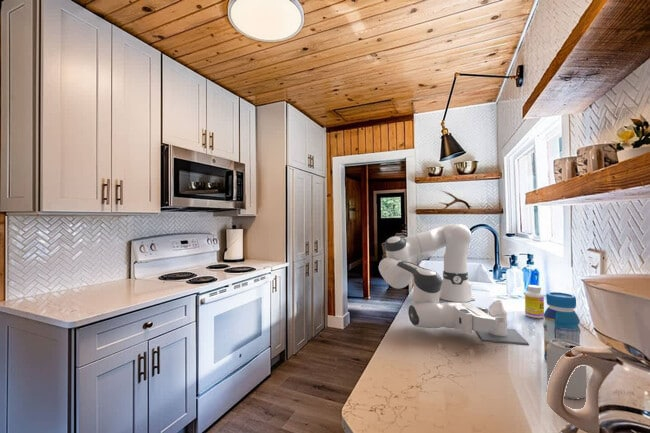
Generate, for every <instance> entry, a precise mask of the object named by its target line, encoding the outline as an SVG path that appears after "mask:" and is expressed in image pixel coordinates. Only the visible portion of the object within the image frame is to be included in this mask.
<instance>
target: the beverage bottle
mask: <svg viewBox="0 0 650 433" xmlns="http://www.w3.org/2000/svg"><path fill="white" fill-rule="evenodd" d="M545 297H546V298H545V299H546V304H547V306H548V307H547V308H546V309H545V310H544V317H543V318H544V321H543V324H542V325H543V326H542V327H543V341H544V342H543V343H544V344H543V346H544V347H543V348H544V350H543V352H544V355H543V356H544V357H543V358H544V361H545V362H546V363H547V345H548V344H549V343H550V340H551V339H566V340H570V341H573V342H576V343H578V344H580V343H581V340H580V338H581V337H580V336H581V328H580V326H579V324H580V317H579V315H578V314H577V313H576V311H575V309H576V307H577V297H576V296H575V295H574V294H571V293H566V292H557V291H556V292H555V291H551V292H549V291H548V292H547V293H546V296H545ZM580 345H581V344H580Z"/></svg>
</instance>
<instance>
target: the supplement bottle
mask: <svg viewBox="0 0 650 433" xmlns="http://www.w3.org/2000/svg"><path fill="white" fill-rule="evenodd" d="M541 290H542V287H541V286H540V285H535V284H528V285H527V290H526V291H525V293H524V301H525V302H524V307H525V308H524V312H525V313H524V314H525V316H527V317H529V318H532V319H542V318H544V313H545V295H544V293H543V292H541Z"/></svg>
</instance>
